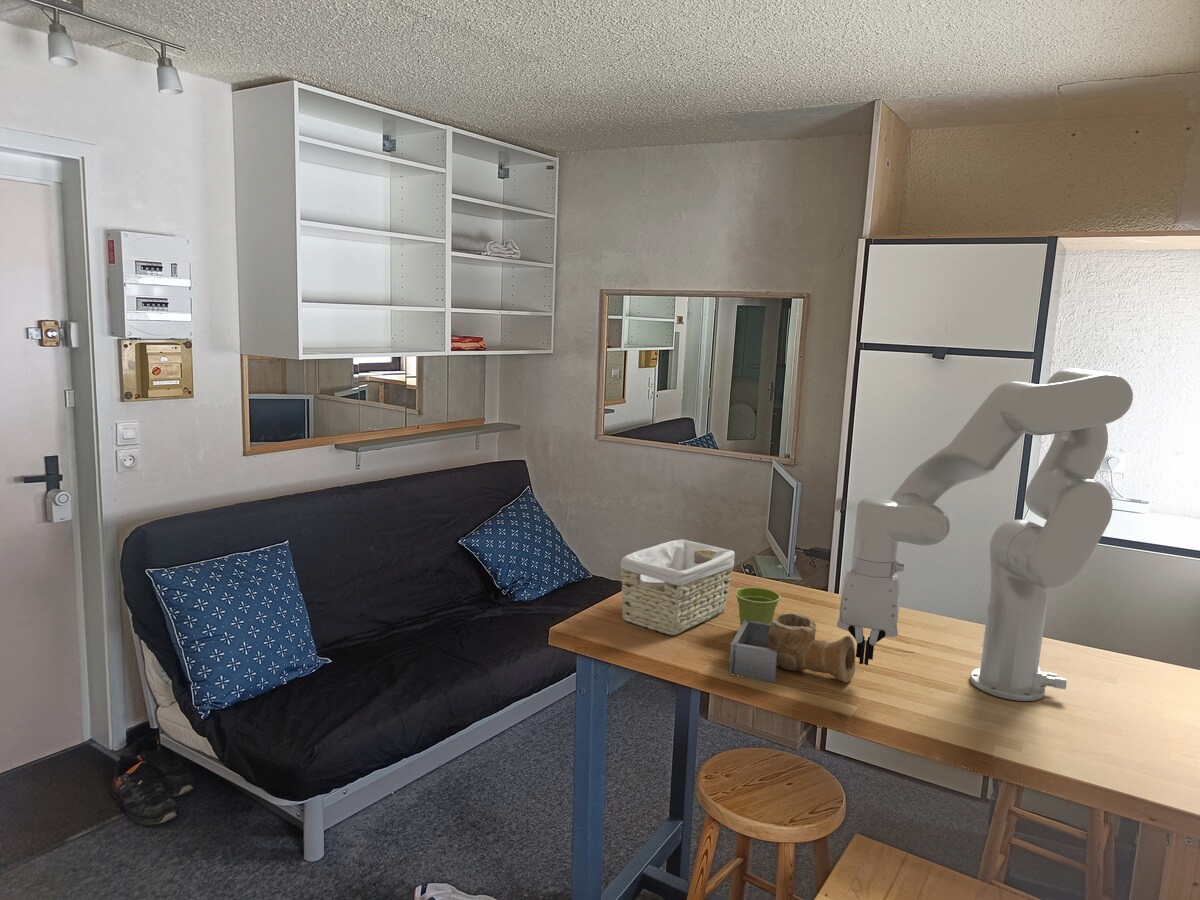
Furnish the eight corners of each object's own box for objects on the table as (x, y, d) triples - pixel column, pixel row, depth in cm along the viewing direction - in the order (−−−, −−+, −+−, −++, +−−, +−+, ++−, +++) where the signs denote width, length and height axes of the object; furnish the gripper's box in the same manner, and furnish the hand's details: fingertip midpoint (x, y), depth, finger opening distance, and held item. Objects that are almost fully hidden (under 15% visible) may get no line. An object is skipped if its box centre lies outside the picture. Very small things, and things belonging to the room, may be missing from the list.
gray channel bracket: (784, 654, 166) (787, 626, 165) (774, 682, 153) (776, 652, 152) (742, 647, 169) (744, 619, 168) (728, 674, 156) (730, 644, 155)
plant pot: (754, 645, 170) (757, 604, 169) (723, 629, 178) (726, 591, 176) (786, 636, 175) (790, 597, 174) (755, 622, 183) (758, 584, 182)
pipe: (847, 692, 150) (852, 640, 148) (759, 672, 157) (763, 622, 155) (856, 674, 158) (860, 624, 156) (772, 656, 165) (775, 607, 163)
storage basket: (675, 595, 199) (678, 535, 196) (734, 612, 189) (738, 550, 187) (614, 621, 180) (617, 556, 178) (676, 642, 170) (680, 573, 168)
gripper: (916, 566, 152) (906, 661, 155) (832, 555, 156) (824, 647, 159) (917, 578, 145) (906, 677, 148) (829, 566, 149) (820, 662, 152)
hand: (863, 661), depth 153 cm, fingers closed
